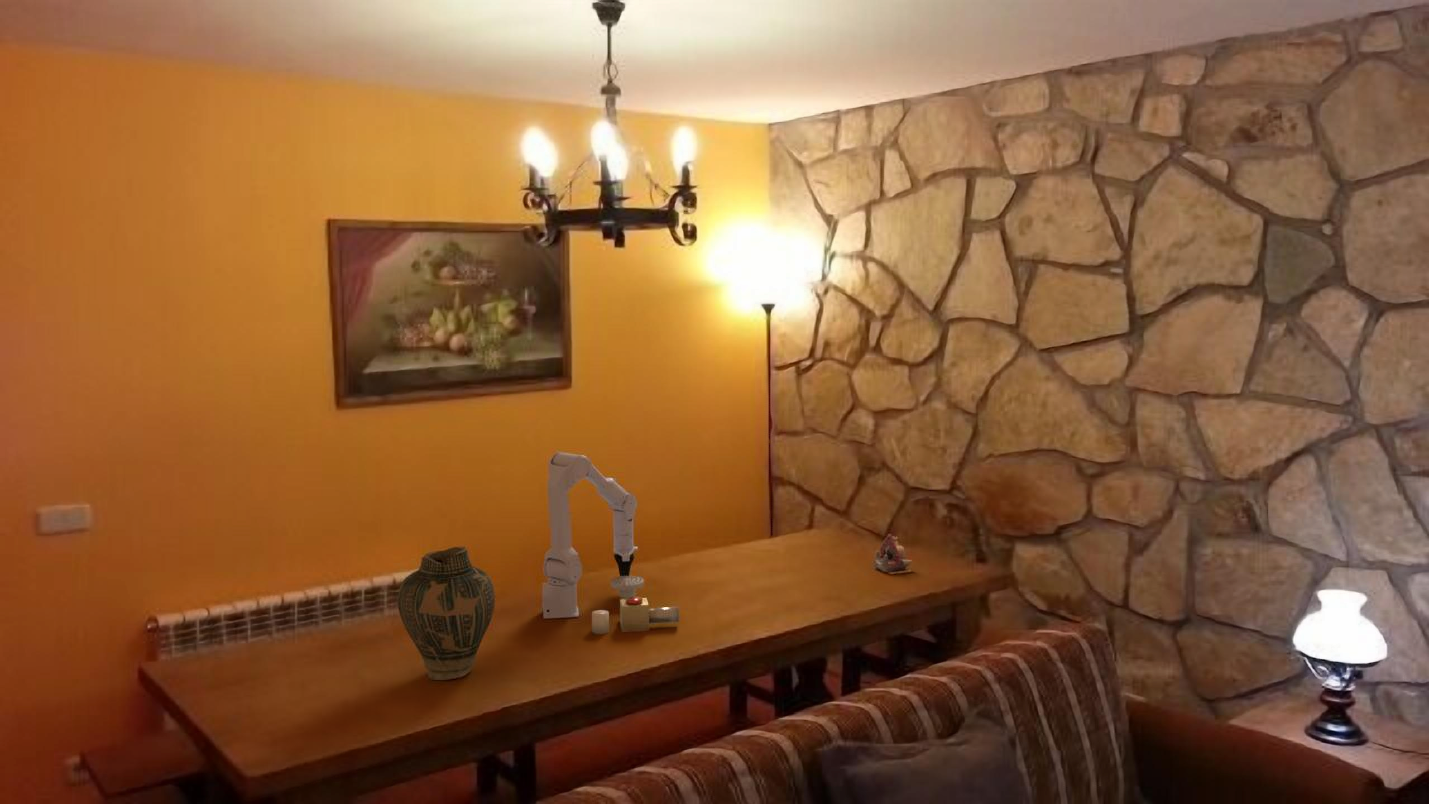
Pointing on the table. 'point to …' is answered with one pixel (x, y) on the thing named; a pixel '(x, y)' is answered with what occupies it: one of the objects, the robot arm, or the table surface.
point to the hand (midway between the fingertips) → (624, 578)
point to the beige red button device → (643, 614)
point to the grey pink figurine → (891, 557)
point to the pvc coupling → (600, 621)
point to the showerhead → (627, 585)
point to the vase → (447, 611)
